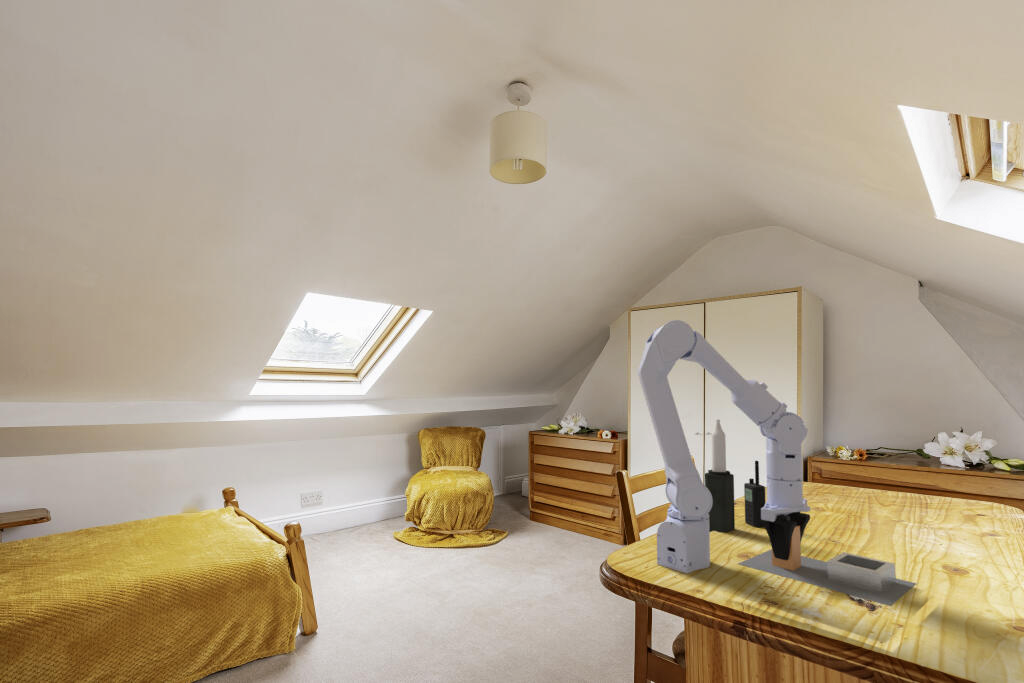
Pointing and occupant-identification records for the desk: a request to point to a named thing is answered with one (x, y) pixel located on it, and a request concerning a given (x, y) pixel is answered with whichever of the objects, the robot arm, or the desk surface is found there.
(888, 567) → the end holder
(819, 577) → the mat
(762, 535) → the desk surface
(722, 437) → the black nozzle bottle
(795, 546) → the connector plug
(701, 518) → the robot arm
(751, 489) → the walkie-talkie
